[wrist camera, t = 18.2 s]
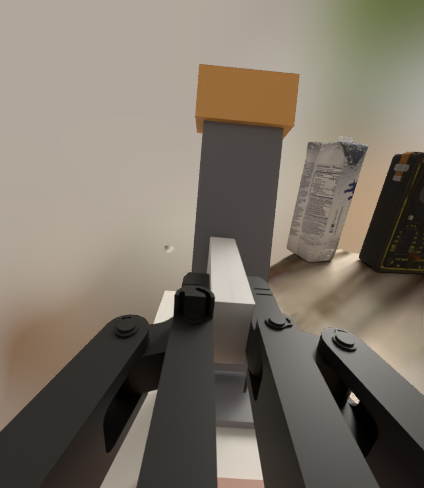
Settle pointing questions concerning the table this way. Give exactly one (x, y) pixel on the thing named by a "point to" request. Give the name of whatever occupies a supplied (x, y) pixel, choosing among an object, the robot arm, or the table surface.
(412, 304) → the table surface
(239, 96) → the lever
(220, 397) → the breaker housing
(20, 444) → the robot arm
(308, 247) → the juice carton
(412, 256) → the voltmeter
